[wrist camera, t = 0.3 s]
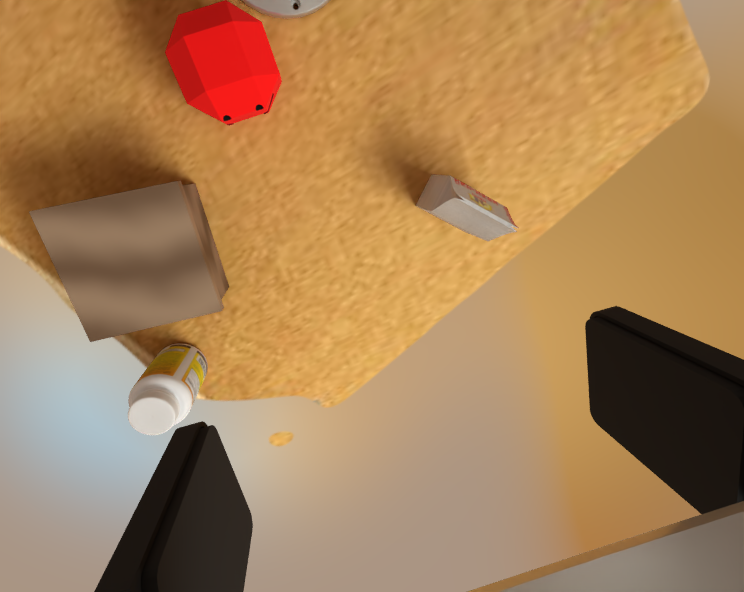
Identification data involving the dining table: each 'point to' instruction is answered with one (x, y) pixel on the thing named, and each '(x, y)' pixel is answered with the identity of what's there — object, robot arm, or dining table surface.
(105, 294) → the walnut box
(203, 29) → the ball
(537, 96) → the dining table surface
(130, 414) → the supplement bottle
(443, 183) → the white carton
